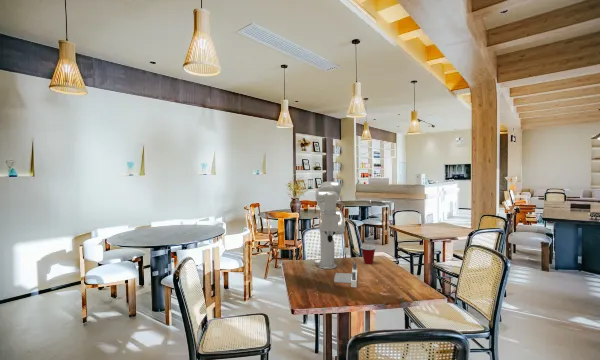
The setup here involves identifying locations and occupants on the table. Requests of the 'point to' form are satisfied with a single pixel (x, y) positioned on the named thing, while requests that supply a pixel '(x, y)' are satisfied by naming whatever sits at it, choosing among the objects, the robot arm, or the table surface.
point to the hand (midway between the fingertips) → (330, 241)
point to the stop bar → (354, 276)
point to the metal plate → (343, 277)
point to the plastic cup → (368, 253)
